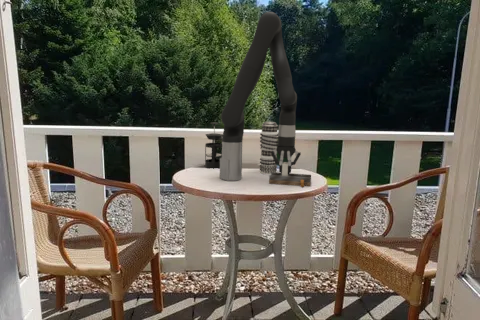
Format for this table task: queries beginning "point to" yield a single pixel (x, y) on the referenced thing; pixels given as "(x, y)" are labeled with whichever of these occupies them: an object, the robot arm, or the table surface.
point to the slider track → (290, 179)
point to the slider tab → (285, 169)
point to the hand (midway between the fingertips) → (284, 173)
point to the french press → (213, 150)
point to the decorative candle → (268, 147)
